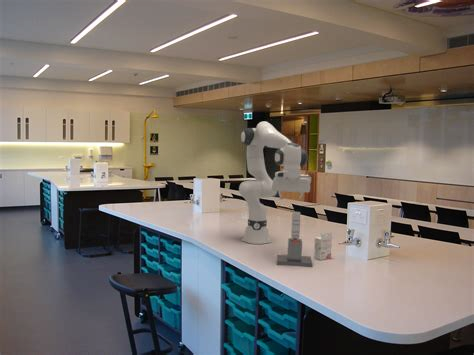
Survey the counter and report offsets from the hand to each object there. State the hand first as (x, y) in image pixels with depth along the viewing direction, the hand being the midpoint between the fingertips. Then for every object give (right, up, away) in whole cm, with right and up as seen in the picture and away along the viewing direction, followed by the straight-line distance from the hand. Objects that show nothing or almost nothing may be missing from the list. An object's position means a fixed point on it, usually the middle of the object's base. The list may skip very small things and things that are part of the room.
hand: (290, 199), depth 226 cm
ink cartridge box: (+19, -33, +10) cm, 40 cm away
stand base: (+2, -33, 0) cm, 33 cm away
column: (+2, -24, -1) cm, 24 cm away
